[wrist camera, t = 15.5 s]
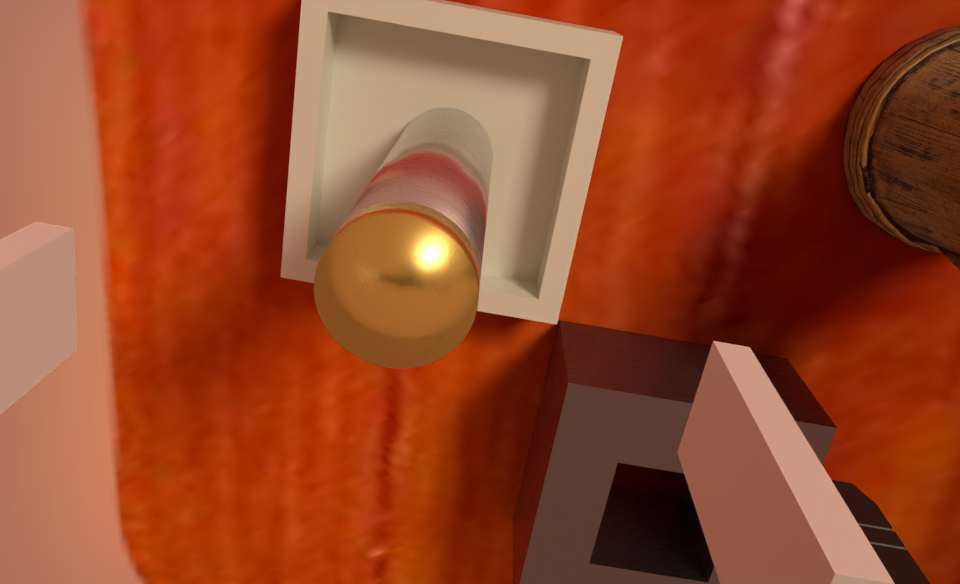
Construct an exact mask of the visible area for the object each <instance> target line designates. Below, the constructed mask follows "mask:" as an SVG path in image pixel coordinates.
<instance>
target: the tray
mask: <svg viewBox="0 0 960 584" xmlns="http://www.w3.org/2000/svg"><path fill="white" fill-rule="evenodd" d="M622 39H623V36H622V35H620V34H618V33H616V32H614V31H609V30H604V29H599V28H593V27H588V26H582V25H577V24H571V23H566V22H560V21H555V20H549V19H544V18H538V17H533V16H527V15H522V14H517V13H511V12H506V11H500V10H495V9H489V8H484V7H478V6H473V5H467V4H462V3H456V2H451V1H446V0H301V13H300V27H299V40H298V53H297V66H296V79H295V92H294V106H293V119H292V132H291V145H290V158H289V171H288V185H287V198H286V211H285V224H284V237H283V251H282V264H281V278H287V279H293V280H299V281H304V282H310V283H314V277H315V271H316V268H317V265H318V262H319V260H320V258H321V256H322V254H323V252H324V250H325V249H326V247H327V246H328V244H329V243H330V241H331V240H332V238H333V237H334V235H335V234H336V232H337V231H338V229H339V228H340V226H341V225H342V223H343V222H344V220H345V219H346V217H347V216H348V214H349V213H350V211H351V210H352V208H353V207H354V205H355V204H356V202H357V201H358V199H359V198H360V196H361V195H362V193H363V192H364V190H365V189H366V187H367V186H368V184H369V183H370V181H371V180H372V178H373V177H374V175H375V174H376V172H377V171H378V169H379V168H380V166H381V165H382V163H383V162H384V160H385V159H386V157H387V156H388V154H389V153H390V151H391V150H392V148H393V147H394V145H395V144H396V142H397V141H398V139H399V138H400V136H401V135H402V133H403V132H404V130H405V129H406V127H407V126H408V124H409V123H410V122H411V121H412V120H413V119H414V118H416V117H417V116H418V115H420V114H421V113H423V112H425V111H428V110H431V109H434V108H440V107H448V108H455V109H459V110H462V111H464V112H466V113H468V114H470V115H471V116H473V117H474V118H475V119H477V120H478V121H479V122H480V123H481V125H482V126H483V127H484V128H485V130H486V132H487V133H488V136H489V138H490V141H491V144H492V150H493V161H492V171H491V181H490V191H489V200H488V210H487V220H486V230H485V240H484V249H483V259H482V269H481V279H480V289H479V298H478V307H477V311H480V312H486V313H492V314H498V315H504V316H510V317H515V318H521V319H527V320H533V321H539V322H545V323H551V324H557V322H558V317H559V313H560V309H561V304H562V300H563V296H564V291H565V287H566V283H567V278H568V274H569V270H570V265H571V261H572V257H573V252H574V248H575V244H576V239H577V235H578V231H579V226H580V222H581V218H582V213H583V209H584V205H585V200H586V196H587V191H588V187H589V183H590V178H591V174H592V170H593V165H594V161H595V157H596V152H597V148H598V144H599V139H600V135H601V131H602V126H603V122H604V118H605V113H606V109H607V105H608V100H609V96H610V92H611V87H612V83H613V79H614V74H615V70H616V66H617V61H618V57H619V52H620V48H621V44H622Z"/></svg>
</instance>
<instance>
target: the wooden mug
mask: <svg viewBox="0 0 960 584" xmlns="http://www.w3.org/2000/svg"><path fill="white" fill-rule="evenodd" d="M843 165H844V170H845V175H846V180H847V185H848V190H849V192H850V194H851V196H852V197H853V199H854V201H855V202H856V204H857V206H858V207H859V209H860V211H861V212H862V214H863V216H865V217H866V218H867V219H869V220H870V221H871V222H873V223H874V224H875V225H877V226H878V227H879V228H881V229H882V230H884V231H885V232H886V233H888V234H890V235H892V236H893V237H895V238H897V239H899V240H901V241H902V242H904V243H906V244H908V245H910V246H912V247H916V248H919V249H923V250H927V251H932V252H939V253H943V254H944V255H945V256H946V257H947V258H948V259H949V260H950V261H951V262H952V263H953V264H954V265H955V266H956V267H958V268H959V269H960V26H957V27H951V28H945V29H940V30H938V31H936V32H933V33H931V34H929V35H926V36H924V37H922V38H919V39H917V40H915V41H912V42H910V43H909V44H907V45H906V46H905V47H903V48H902V49H901V50H899V51H898V52H897V53H895V54H894V55H893V56H891V57H890V58H889V59H887V60H886V61H885V62H883V63H882V64H881V66H880V67H879V68H878V69H877V70H876V71H875V72H874V74H873V75H872V76H871V77H870V78H869V79H868V80H867V82H866V83H865V84H864V85H863V86H862V88H861V90H860V92H859V94H858V97H857V99H856V101H855V103H854V105H853V107H852V109H851V111H850V114H849V119H848V123H847V128H846V132H845V137H844V142H843Z"/></svg>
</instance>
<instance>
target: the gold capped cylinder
mask: <svg viewBox="0 0 960 584" xmlns="http://www.w3.org/2000/svg"><path fill="white" fill-rule="evenodd" d="M492 161H493V150H492V144H491V141H490V138H489V136H488V133H487V132H486V130H485V128H484V127H483V126H482V125H481V123H480V122H479V121H478V120H477V119H475V118H474V117H473V116H471V115H470V114H468V113H466V112H464V111H462V110H459V109H455V108H448V107H440V108H434V109H431V110H428V111H425V112H423V113H421V114H420V115H418V116H417V117H416V118H414V119H413V120H412V121H411V122H410V123H409V124H408V126H407V127H406V129H405V130H404V132H403V133H402V135H401V136H400V138H399V139H398V141H397V142H396V144H395V145H394V147H393V148H392V150H391V151H390V153H389V154H388V156H387V157H386V159H385V160H384V162H383V163H382V165H381V166H380V168H379V169H378V171H377V172H376V174H375V175H374V177H373V178H372V180H371V181H370V183H369V184H368V186H367V187H366V189H365V190H364V192H363V193H362V195H361V196H360V198H359V199H358V201H357V202H356V204H355V205H354V207H353V208H352V210H351V211H350V213H349V214H348V216H347V217H346V219H345V220H344V222H343V223H342V225H341V226H340V228H339V229H338V231H337V232H336V234H335V235H334V237H333V238H332V240H331V241H330V243H329V244H328V246H327V247H326V249H325V250H324V252H323V254H322V256H321V258H320V260H319V262H318V265H317V268H316V271H315V277H314V299H315V304H316V308H317V311H318V314H319V316H320V319H321V321H322V323H323V324H324V326H325V328H326V329H327V331H328V332H329V333H330V335H331V336H332V337H333V338H334V339H335V340H336V341H337V343H338V344H339V345H341V346H342V347H343V348H344V349H345V350H347V351H348V352H350V353H351V354H353V355H354V356H356V357H358V358H360V359H362V360H364V361H366V362H369V363H372V364H375V365H378V366H383V367H389V368H413V367H419V366H423V365H427V364H429V363H432V362H434V361H437V360H439V359H440V358H442V357H444V356H446V355H447V354H449V353H450V352H451V351H453V350H454V349H455V348H456V347H457V346H458V345H459V344H460V343H461V342H462V341H463V339H464V338H465V337H466V335H467V334H468V332H469V330H470V329H471V327H472V324H473V322H474V320H475V316H476V312H477V307H478V298H479V289H480V279H481V269H482V259H483V249H484V240H485V230H486V220H487V210H488V200H489V191H490V181H491V171H492Z"/></svg>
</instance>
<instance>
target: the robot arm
mask: <svg viewBox="0 0 960 584" xmlns="http://www.w3.org/2000/svg"><path fill="white" fill-rule="evenodd" d="M77 349H78V331H77V304H76V276H75V248H74V228H71V227H65V226H59V225H54V224H48V223H42V222H37V221H36V222H34V223H32V224H30V225H28V226H26V227H24V228H22V229H20V230H18V231H16V232H14V233H12V234H10V235H8V236H6V237H4V238H2V239H0V414H2V413H3V412H4V411H5V410H6V409H8V408H9V407H10V406H11V405H12V404H14V403H15V402H16V401H17V400H18V399H19V398H21V397H22V396H23V395H24V394H25V393H27V392H28V391H29V390H30V389H31V388H32V387H34V386H35V385H36V384H37V383H38V382H39V381H40V380H42V379H43V378H44V377H45V376H47V375H48V374H49V373H50V372H51V371H52V370H53V369H55V368H56V367H57V366H58V365H60V364H61V363H62V362H63V361H64V360H65V359H67V358H68V357H69V356H70V355H71V354H72V353H74V352H75V351H76V350H77ZM677 453H678V456H679V459H680V462H681V466H682V469H683V472H684V475H685V478H686V481H687V484H688V487H689V490H690V493H691V496H692V499H693V502H694V505H695V508H696V511H697V515H698V518H699V521H700V524H701V527H702V530H703V533H704V536H705V539H706V542H707V545H708V548H709V551H710V554H711V557H712V560H713V564H714V567H715V570H716V573H717V576H718V579H719V582H720V584H930V583H929V582H928V580H927V579H926V577H925V576H924V574H923V573H922V571H921V570H920V568H919V567H918V565H917V564H916V562H915V561H914V559H913V558H912V556H911V555H910V553H909V552H908V551H907V550H904V545H903V543H902V542H901V540H900V539H899V537H898V536H897V534H896V533H895V532H893V531H892V527H891V525H890V524H889V522H888V521H887V519H886V518H885V516H884V515H883V513H882V512H881V510H880V509H879V507H878V506H877V505H876V504H875V503H874V502H873V501H872V500H871V499H869V498H868V497H867V496H866V495H865V494H864V493H862V492H861V491H860V490H859V489H858V488H857V487H856V486H854V485H853V484H852V483H846V482H840V481H835V480H831V479H830V477H829V476H828V474H827V472H826V471H825V469H824V467H823V466H822V464H821V463H820V461H819V459H818V458H817V456H816V454H815V453H814V451H813V449H812V448H811V446H810V445H809V443H808V441H807V440H806V438H805V436H804V435H803V433H802V432H801V430H800V428H799V427H798V425H797V423H796V422H795V420H794V418H793V417H792V415H791V414H790V412H789V410H788V409H787V407H786V405H785V404H784V402H783V401H782V399H781V397H780V396H779V394H778V392H777V391H776V389H775V387H774V386H773V384H772V383H771V381H770V379H769V378H768V376H767V374H766V373H765V371H764V369H763V368H762V366H761V365H760V363H759V361H758V360H757V358H756V356H755V355H754V353H753V352H752V350H751V348H750V347H746V346H740V345H735V344H729V343H723V342H718V341H713V343H712V346H711V349H710V352H709V355H708V358H707V361H706V364H705V368H704V371H703V374H702V377H701V380H700V383H699V386H698V389H697V393H696V396H695V399H694V402H693V405H692V408H691V411H690V414H689V418H688V421H687V424H686V427H685V430H684V433H683V436H682V439H681V443H680V446H679V449H678V452H677Z"/></svg>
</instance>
